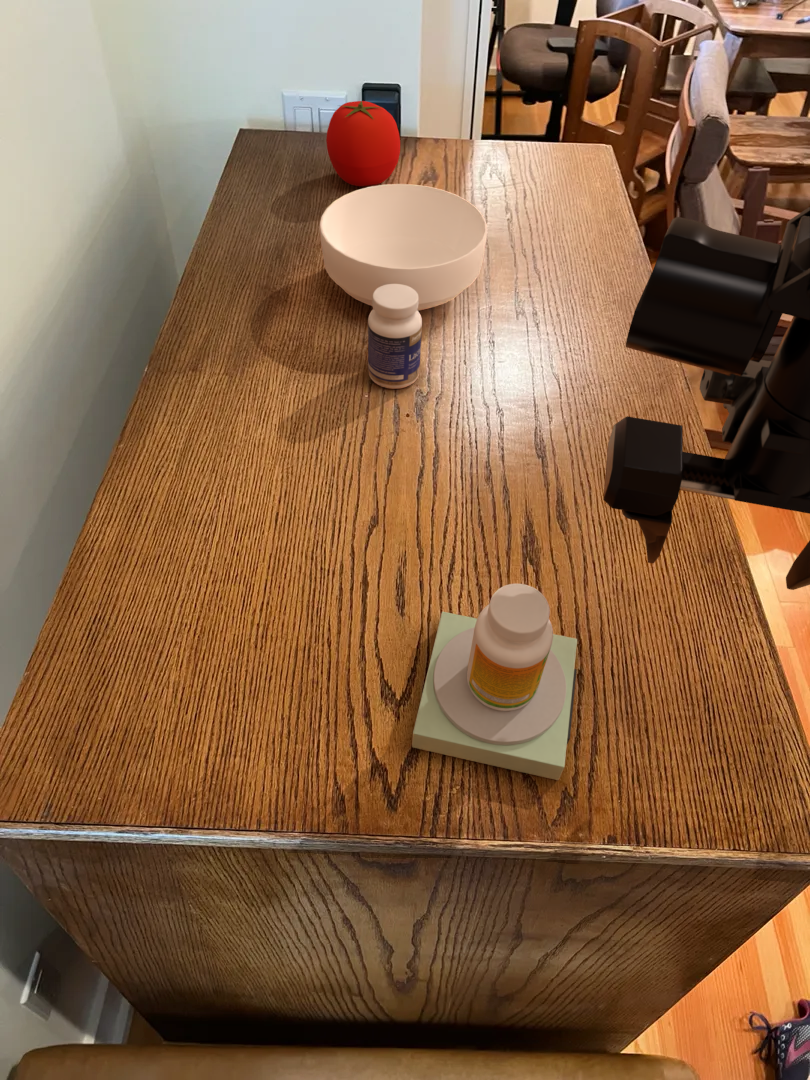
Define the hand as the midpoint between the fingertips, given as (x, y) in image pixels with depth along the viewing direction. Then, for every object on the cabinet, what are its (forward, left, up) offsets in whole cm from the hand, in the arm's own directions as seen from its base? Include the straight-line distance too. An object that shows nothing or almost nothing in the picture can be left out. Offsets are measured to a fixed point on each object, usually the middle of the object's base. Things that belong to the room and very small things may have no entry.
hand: (719, 570), depth 52 cm
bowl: (+33, -48, -13) cm, 60 cm away
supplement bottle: (+13, +6, -10) cm, 17 cm away
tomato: (+45, -74, -13) cm, 88 cm away
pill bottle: (+30, -31, -13) cm, 45 cm away
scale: (+13, +6, -13) cm, 19 cm away
